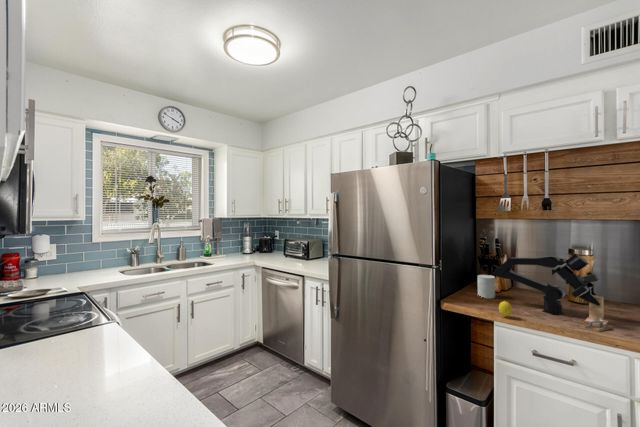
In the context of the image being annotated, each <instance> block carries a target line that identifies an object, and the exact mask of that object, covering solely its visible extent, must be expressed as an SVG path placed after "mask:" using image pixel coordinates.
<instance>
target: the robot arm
mask: <svg viewBox="0 0 640 427" xmlns="http://www.w3.org/2000/svg"><path fill="white" fill-rule="evenodd" d="M589 264H590V262H589V261H587V259H586V258H584V257H582V256H581V255H578V253H573V255H572V256H570V257H569V258H567V259H566V258H561V257H559V256H557V255H552V254H551V255H547V256H545V255H544V256H540V257H513V256H512V257H511V256H510V257H509V258H507V259H506V261H504V262H503V263H502V264H501V265H500V266H498V267H495V269H494V270H493V272H494V276H495V277H498V278H501V279H505V280H506V279H507V280H512V281H514V282H517V283H520V284H522V285H525V286H528V287H529V288H532V289H535V290H537V291H539V292H542V293H543V294H545V295H544V296H543V297H542V299H543V309H542V312H543V313H548V314H550V315H551V314H552V315H553V316H554V315H555V316H556V315H562V314H564V312H563V305H562V301H560V300H561V299H563V298H564V297H565V296H566V293H567V292H566V290H565V288H564V287H562V286H561V285H560V284H556V283H554V282H552V281H550V282H549V283H544V282H542V281H539V280H535V279H533V278H531V277H527V276H525V275H522V274H519V273H518V272H516V271H514V270H512V268H513V267H514V266H516V265H517V266H541V267H545V268H552V269H551V276H553V275H556V274H557V275H558V276H559V277H560V278H561V279H562V280H563V281H564V282H565V284H566V285H569V286H570V287H571V288H572V291H571V296H572V297H574V298H575V299H576V298H578V299H581V300H584V301H586V302H588V303H589V302H591V303H593V304H595V305H597V306H599V305H600V303H599V302H598V301H597V300H596V299H595V298H594V296H593V295H597V296H598V294H597V293H596V291H595V287H596V286H595V285H596V284H595V282H598V281H600V279H599V277H598V274H596V273H594V272H592V271H589V272H586V275H581V274H577V273H576V272H579V271H581V270H582V269H584V268H585V267H587V266H588V265H589ZM554 268H555V269H554ZM574 271H576V272H574Z"/></svg>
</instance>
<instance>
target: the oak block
mask: <svg viewBox="0 0 640 427" xmlns="http://www.w3.org/2000/svg"><path fill="white" fill-rule="evenodd" d="M593 296H594V298H595V299H596V300H597V301H598V302H599V303H600V305H599V306H597V305H595V304H593V303H591V302H588V310H589V311H588V317H589V318H594V319H599V317H600V318H602V320H604V318H605V317H604V314H605V313H604V312H605V310H604V306H605V305H604V301H605V300H604V296H602V295H598V294H597V295H593Z"/></svg>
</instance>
